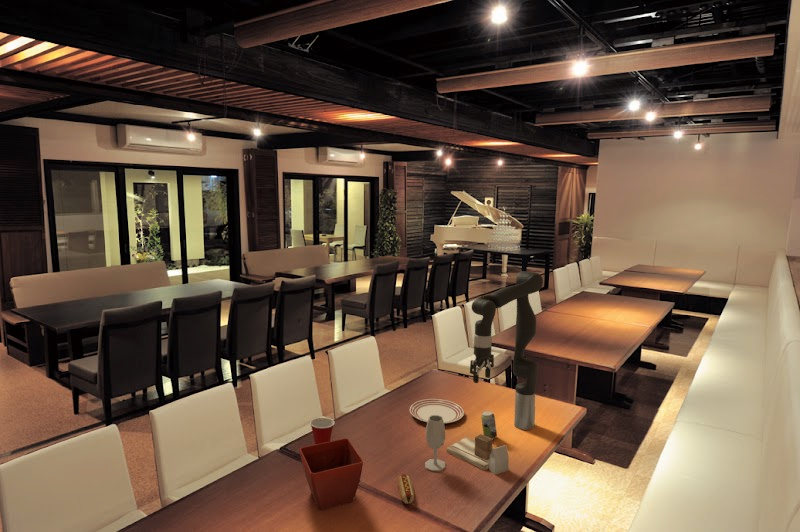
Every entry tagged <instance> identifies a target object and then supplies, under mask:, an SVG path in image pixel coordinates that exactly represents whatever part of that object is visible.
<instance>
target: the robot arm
mask: <svg viewBox="0 0 800 532" xmlns="http://www.w3.org/2000/svg"><path fill="white" fill-rule="evenodd" d="M543 284H544V278H543V276H542V275H541V274H540V273H538V272H533V271H526V270H525V271H524V270H521V271H519V272H518V273H517V275H516V279H515V285H511V286H505V287H503V288H500V289H498V290H496V291H494V292H493V293H490V294H485V295H482V296H479V297H477V298H475V299H474V300H473V302H472V303H471V310H472V312H473V313H474V314H476V315H480V316H482V318H481V319H479V320H476V321H475V323H474V338H473V355H474V356H475V359H474V360H473V359H471V360H470V361H469V362H470V367H469V374H471V375H473V379H472V380H473V383H475V384H478V383H479V375H480V372H481V371H482V370H483V368H484V369H485V370H484V373H485V374H484V376H485V378H487V379H490V378H491V370H492V368H494V367H495V356H494V355H495V354H494V353H493V354H492V345H493V344H492V325H493V323H494V318H495V315H496V313H497V309H500V308H502V307H504V306H506V305H508V304H509V303H510V302H511V303H512V302H513V301H515V300H516V316H515V317H516V318H515V319H516V320H515V345H514V353H513V359H512V360H513V362H512V373H513V375H514V376H515V377H518V378H523V379H525V382H524V381H523V382H519V383H517V384H516V385H515V394H514V396H515V398H514V399H515V400H514V401H515V402H514V423H513V425H514V426H515V427H516V428H517V429H519V430H525V431H527V430H528V431H529V430H532V429H534V427H535V420H536V389H537V382H538V381H537V380H538V372H539V365H538V362H537V361H535V360H531V359H528V358H525V350H526V348H527V346H528V345H529V344H530V342H531V341H532V340H533V338H534V337H535V335H536V332H537V318H536V314H535V312H534V310H533V307H532V306H531V304H530V299H529V295H531V294H535V293H536V292H539V291H540V290H541V288H543Z"/></svg>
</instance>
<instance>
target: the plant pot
mask: <svg viewBox="0 0 800 532" xmlns="http://www.w3.org/2000/svg"><path fill="white" fill-rule="evenodd" d="M299 454H300V460H301V463H302V468H303V472H304V474H305V475H304V476H305V478H306V481H307V485H308V487H309V489H310V492H311V495H312V497H313V499H314V502H315V504H316V506H317V509H318V510H320V511H323V510H327V509H330V508H331V509H332V508H334V507H338V506H342V505H345V504H349V503H352V502H353V501H354V499H355V496H356V494H357V491H358V488H359V485H360V482H361V476H362V473H363V472H362V471H363V465H364V460H363V459H362V457H361V456H360V454H359V453H358V451H357V450H356V448H355V447H354V445H353V444H352V442H351V440H350V439H349V438H345V437H344V438H340V439H336V440H330V442H325V443H320V444H316V445H315V444H312V445H307V446H301V447H300V448H299Z"/></svg>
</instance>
